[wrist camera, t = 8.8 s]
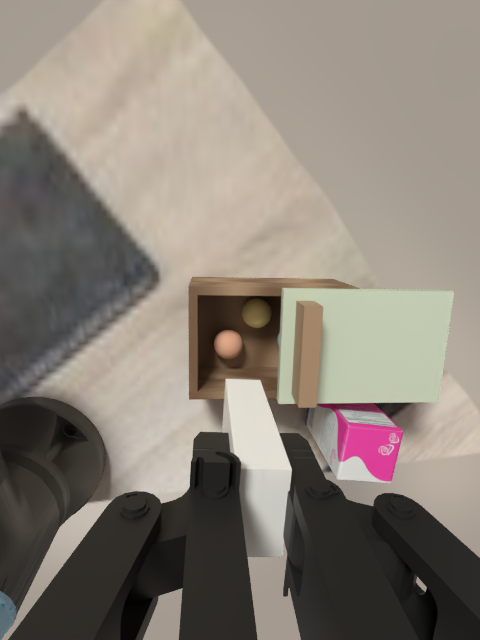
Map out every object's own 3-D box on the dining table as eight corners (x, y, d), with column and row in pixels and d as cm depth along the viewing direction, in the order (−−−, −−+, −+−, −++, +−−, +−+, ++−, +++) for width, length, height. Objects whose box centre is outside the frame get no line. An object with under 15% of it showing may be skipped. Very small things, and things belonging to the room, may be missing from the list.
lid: (276, 399, 38) (284, 418, 34) (281, 288, 36) (290, 294, 32) (433, 397, 39) (457, 415, 35) (447, 290, 37) (475, 296, 33)
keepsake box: (192, 371, 45) (189, 399, 38) (192, 277, 43) (188, 286, 35) (326, 370, 47) (349, 397, 39) (333, 279, 44) (359, 288, 37)
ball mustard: (240, 324, 44) (242, 331, 40) (241, 295, 43) (243, 300, 40) (268, 324, 44) (273, 331, 41) (269, 296, 43) (274, 301, 40)
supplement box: (349, 428, 49) (391, 486, 38) (304, 424, 48) (332, 481, 37) (359, 385, 48) (405, 432, 36) (312, 380, 47) (345, 425, 36)
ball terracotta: (213, 354, 44) (213, 362, 41) (213, 326, 43) (214, 333, 40) (241, 354, 44) (243, 362, 41) (242, 326, 44) (244, 333, 41)
